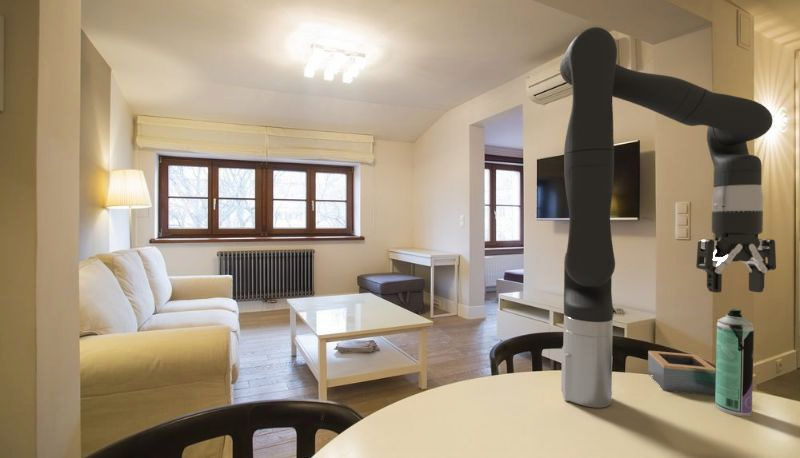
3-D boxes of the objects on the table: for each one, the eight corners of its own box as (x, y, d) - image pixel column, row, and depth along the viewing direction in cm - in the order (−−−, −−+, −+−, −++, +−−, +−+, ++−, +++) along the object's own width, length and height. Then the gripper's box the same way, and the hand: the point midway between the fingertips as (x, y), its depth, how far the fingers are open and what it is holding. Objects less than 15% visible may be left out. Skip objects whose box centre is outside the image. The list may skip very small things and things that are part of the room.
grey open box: (663, 390, 84) (663, 365, 84) (647, 373, 94) (648, 350, 94) (717, 396, 81) (718, 370, 81) (695, 378, 91) (696, 354, 91)
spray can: (759, 418, 72) (761, 313, 72) (726, 415, 73) (728, 311, 73) (739, 404, 78) (741, 307, 77) (709, 402, 79) (711, 305, 78)
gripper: (719, 208, 71) (718, 296, 71) (791, 209, 71) (789, 295, 72) (686, 210, 78) (685, 289, 78) (751, 210, 79) (750, 288, 79)
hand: (735, 291), depth 75 cm, fingers open, 8 cm apart
